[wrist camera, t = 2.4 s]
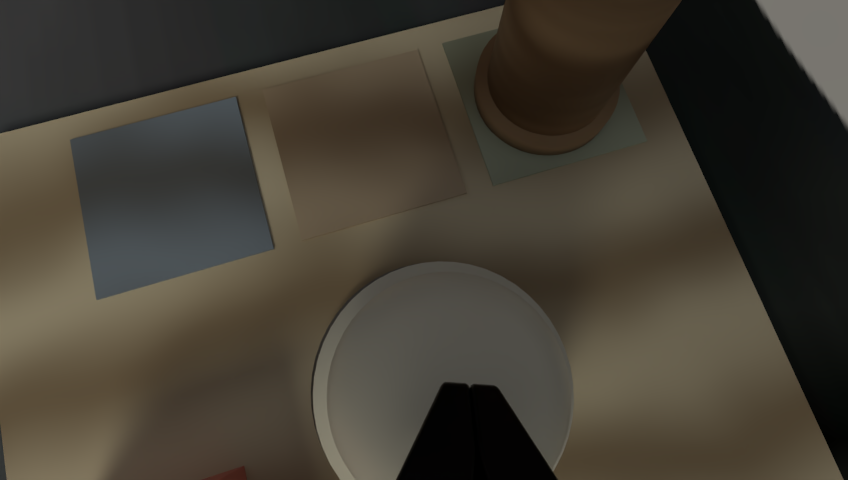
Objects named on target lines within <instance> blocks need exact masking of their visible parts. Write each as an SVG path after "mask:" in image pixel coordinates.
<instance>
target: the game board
mask: <svg viewBox="0 0 848 480" xmlns="http://www.w3.org/2000/svg"><path fill="white" fill-rule="evenodd" d="M503 7H504V5H503V6H499V7H495V8H491V9H487V10H483V11H479V12H475V13H471V14H467V15H463V16H459V17H456V18H452V19H448V20H444V21H440V22H436V23H432V24H428V25H424V26H420V27H416V28H412V29H408V30H405V31H401V32H397V33H393V34H389V35H385V36H381V37H377V38H373V39H369V40H365V41H361V42H358V43H354V44H350V45H346V46H342V47H338V48H334V49H330V50H326V51H322V52H318V53H314V54H310V55H307V56H303V57H299V58H295V59H291V60H287V61H283V62H279V63H275V64H271V65H267V66H263V67H260V68H256V69H252V70H248V71H244V72H240V73H236V74H232V75H228V76H224V77H220V78H216V79H212V80H209V81H205V82H201V83H197V84H193V85H189V86H185V87H181V88H177V89H173V90H169V91H165V92H162V93H158V94H154V95H150V96H146V97H142V98H138V99H134V100H130V101H126V102H122V103H118V104H114V105H111V106H107V107H103V108H99V109H95V110H91V111H87V112H83V113H79V114H75V115H71V116H67V117H64V118H60V119H56V120H52V121H48V122H44V123H40V124H36V125H32V126H28V127H24V128H20V129H16V130H13V131H9V132H5V133H1V134H0V424H1V433H2V441H3V450H4V459H5V467H6V476H7V480H202V479H205V478H208V477H211V476H214V475H217V474H220V473H223V472H226V471H229V470H232V469H235V468H238V467H242V466H244V467H245V472H246V477H247V480H340V479H339V477H338V476H337V474H336V473H335V471H334V469H333V468H332V466H331V465H330V463H329V461H328V459H327V456H326V454H325V452H324V450H323V448H322V445H321V442H320V439H319V435H318V432H317V428H316V423H315V417H314V409H313V384H314V375H315V370H316V365H317V360H318V357H319V354H320V351H321V348H322V345H323V342H324V340H325V338H326V336H327V334H328V332H329V330H330V328H331V326H332V325H333V323H334V322H335V320H336V319H337V317H338V316H339V314H340V313H341V311H342V310H343V309H344V308H345V307H346V306H347V304H348V303H349V302H350V301H351V300H352V299H353V298H354V297H355V296H356V295H357V294H359V293H360V292H361V291H362V290H363V289H364V288H366V287H367V286H369V285H370V284H371V283H373V282H374V281H376V280H377V279H379V278H381V277H383V276H385V275H387V274H389V273H391V272H393V271H396V270H398V269H401V268H404V267H407V266H411V265H415V264H420V263H426V262H437V261H443V262H458V263H465V264H470V265H474V266H477V267H481V268H484V269H487V270H489V271H491V272H494V273H496V274H498V275H501V276H502V277H504V278H506V279H507V280H509V281H511V282H512V283H514V284H515V285H517V286H518V287H519V288H520V289H522V290H523V291H524V292H526V293H527V294H528V295H529V296H530V297H531V298H532V299H533V300H534V301H535V302H536V303H537V304H538V305H539V306H540V307H541V309H542V310H543V311H544V313H545V314H546V315H547V316H548V318H549V319H550V321H551V322H552V324H553V326H554V327H555V329H556V331H557V332H558V334H559V336H560V339H561V341H562V343H563V346H564V348H565V350H566V354H567V357H568V360H569V364H570V367H571V373H572V379H573V391H574V407H573V418H572V424H571V428H570V433H569V437H568V440H567V443H566V446H565V449H564V451H563V454H562V456H561V458H560V460H559V462H558V464H557V466H556V468H555V470H554V471H553V472H554V474H555V476H556V477H557V479H558V480H843V478H842V476H841V473H840V471H839V469H838V467H837V465H836V463H835V460H834V458H833V456H832V454H831V452H830V449H829V447H828V445H827V443H826V441H825V439H824V436H823V434H822V432H821V430H820V428H819V426H818V423H817V421H816V419H815V417H814V415H813V413H812V410H811V408H810V406H809V404H808V402H807V400H806V397H805V395H804V393H803V391H802V389H801V386H800V384H799V382H798V380H797V378H796V376H795V373H794V371H793V369H792V367H791V365H790V363H789V360H788V358H787V356H786V354H785V352H784V350H783V347H782V345H781V343H780V341H779V339H778V336H777V334H776V332H775V330H774V328H773V326H772V323H771V321H770V319H769V317H768V315H767V313H766V310H765V308H764V306H763V304H762V302H761V300H760V297H759V295H758V293H757V291H756V289H755V286H754V284H753V282H752V280H751V278H750V276H749V273H748V271H747V269H746V267H745V265H744V263H743V260H742V258H741V256H740V254H739V252H738V250H737V247H736V245H735V243H734V241H733V239H732V236H731V234H730V232H729V230H728V228H727V226H726V223H725V221H724V219H723V217H722V215H721V213H720V210H719V208H718V206H717V204H716V202H715V200H714V197H713V195H712V193H711V191H710V189H709V186H708V184H707V182H706V180H705V178H704V176H703V173H702V171H701V169H700V167H699V165H698V163H697V160H696V158H695V156H694V154H693V152H692V150H691V147H690V145H689V143H688V141H687V139H686V137H685V134H684V132H683V130H682V128H681V126H680V123H679V121H678V119H677V117H676V115H675V113H674V110H673V108H672V106H671V104H670V102H669V100H668V97H667V95H666V93H665V91H664V89H663V87H662V84H661V82H660V80H659V78H658V76H657V73H656V71H655V69H654V67H653V65H652V63H651V60H650V58H649V56H648V54H647V52H646V50H645V52H644V53H643V54H642V56H641V57H640V59H639V60H638V61H637V63H636V64H635V65H634V67H633V68H632V70H631V71H630V72H629V74H628V75H627V76H626V78H625V79H624V81H623V82H622V83H621V85H620V93H619V99H618V103H617V106H616V108H615V111H614V112H613V114H612V116H611V118H610V119H609V120H608V122H607V123H606V124H605V125H604V127H603V128H602V129H601V131H600V132H599V133H598V134H597V135H596V136H595V137H594V138H593V139H592V140H591V141H590V142H588V143H587V144H585V145H584V146H582V147H580V148H578V149H576V150H574V151H571V152H568V153H564V154H559V155H536V154H530V153H527V152H523V151H520V150H518V149H516V148H513V147H511V146H510V145H508V144H506V143H505V142H503V141H502V140H501V139H499V138H498V137H497V136H496V135H495V134H494V133H493V132H491V130H490V129H489V128H488V127H487V125H486V124H485V123H484V121H483V119H482V118H481V116H480V114H479V111H478V109H477V106H476V103H475V97H474V80H475V74H476V70H477V65H478V62H479V58H480V56H481V53H482V51H483V49H484V48H485V46H486V45H487V43H488V42H489V41H490V40H491V38H492V37H493V36H494V35H495V34H497V31H498V27H499V23H500V19H501V15H502V11H503Z"/></svg>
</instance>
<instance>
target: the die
mask: <svg viewBox="0 0 848 480" xmlns="http://www.w3.org/2000/svg"><path fill="white" fill-rule="evenodd" d="M202 480H247V477H246V472H245V467H244V466H242V467H238V468H235V469H232V470H229V471H226V472H223V473H220V474H217V475H214V476H211V477H208V478H205V479H202Z"/></svg>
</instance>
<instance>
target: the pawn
mask: <svg viewBox="0 0 848 480" xmlns="http://www.w3.org/2000/svg"><path fill="white" fill-rule="evenodd" d="M681 1H682V0H505V3H504V7H503V11H502V15H501V19H500V23H499V27H498V31H497V34H495V35H494V36H493V37H492V38H491V40H490V41H489V42H488V43H487V45H486V46H485V48H484V49H483V51H482V53H481V56H480V58H479V62H478V65H477V70H476V74H475V80H474V97H475V103H476V106H477V109H478V111H479V114H480V116H481V118H482V119H483V121H484V123H485V124H486V125H487V127H488V128H489V129H490V130H491V132H493V133H494V134H495V135H496V136H497V137H498V138H499V139H501V140H502V141H503V142H505V143H506V144H508V145H510V146H511V147H513V148H516V149H518V150H520V151H523V152H527V153H530V154H536V155H559V154H564V153H568V152H571V151H574V150H576V149H578V148H580V147H582V146H584V145H585V144H587V143H588V142H590V141H591V140H592V139H593V138H594V137H595V136H596V135H597V134H598V133H599V132H600V131H601V129H602V128H603V127H604V125H605V124H606V123H607V122H608V120H609V119H610V118H611V116H612V114H613V112H614V111H615V108H616V106H617V103H618V99H619V93H620V85H621V83H622V82H623V81H624V79H625V78H626V76H627V75H628V74H629V72H630V71H631V70H632V68H633V67H634V65H635V64H636V63H637V61H638V60H639V59H640V57H641V56H642V54H643V53H644V52H645V50H646V49H647V48H648V46H649V45H650V43H651V42H652V41H653V39H654V38H655V37H656V35H657V34H658V32H659V31H660V30H661V28H662V27H663V26H664V24H665V23H666V21H667V20H668V19H669V17H670V16H671V15H672V13H673V12H674V10H675V9H676V8H677V6H678V5H679V4H680V2H681Z"/></svg>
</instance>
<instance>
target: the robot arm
mask: <svg viewBox="0 0 848 480" xmlns="http://www.w3.org/2000/svg"><path fill="white" fill-rule="evenodd" d="M396 480H558V479H557V477H556V476H555V474H554V472H553V471H552V469H551V468H550V466H549V465H548V463H547V462H546V460H545V459H544V457H543V456H542V454H541V452H540V451H539V449H538V448H537V446H536V445H535V443H534V442H533V440H532V439H531V437H530V436H529V434H528V432H527V431H526V429H525V428H524V426H523V425H522V423H521V422H520V420H519V419H518V417H517V416H516V414H515V412H514V411H513V409H512V408H511V406H510V405H509V403H508V402H507V400H506V399H505V397H504V396H503V394H502V392H501V391H500V390H499V388H498V387H497V386H495V385H486V384H472V385H471V386H470V387H469V386H468V384H466V383H456V382H444V383H443V384H442V385H441V386H440V388H439V390H438V392H437V395H436V397H435V399H434V401H433V403H432V405H431V407H430V409H429V411H428V413H427V416H426V418H425V420H424V422H423V424H422V426H421V428H420V430H419V432H418V434H417V436H416V439H415V441H414V443H413V445H412V447H411V449H410V451H409V453H408V455H407V457H406V460H405V462H404V464H403V466H402V468H401V470H400V472H399V474H398V476H397V478H396Z"/></svg>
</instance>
